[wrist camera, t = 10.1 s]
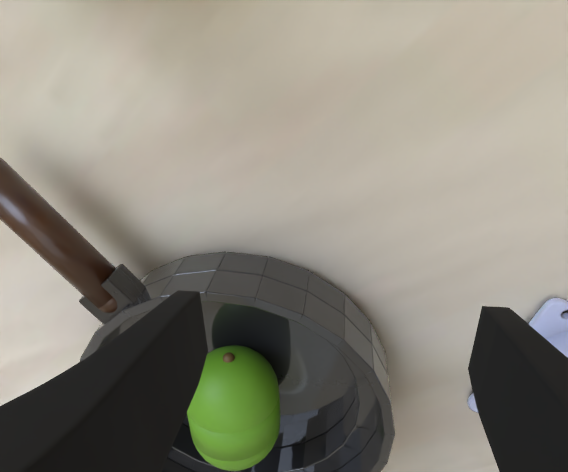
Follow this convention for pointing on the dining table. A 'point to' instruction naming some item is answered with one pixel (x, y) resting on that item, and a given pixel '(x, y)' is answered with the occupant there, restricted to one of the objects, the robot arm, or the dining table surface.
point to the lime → (235, 408)
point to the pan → (284, 359)
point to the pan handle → (65, 248)
